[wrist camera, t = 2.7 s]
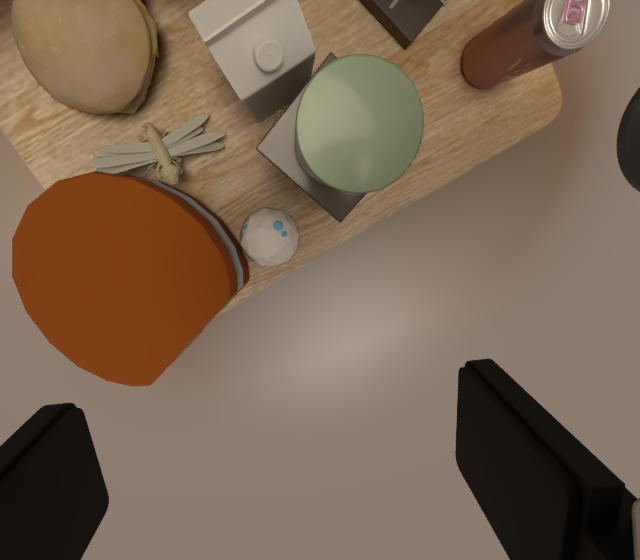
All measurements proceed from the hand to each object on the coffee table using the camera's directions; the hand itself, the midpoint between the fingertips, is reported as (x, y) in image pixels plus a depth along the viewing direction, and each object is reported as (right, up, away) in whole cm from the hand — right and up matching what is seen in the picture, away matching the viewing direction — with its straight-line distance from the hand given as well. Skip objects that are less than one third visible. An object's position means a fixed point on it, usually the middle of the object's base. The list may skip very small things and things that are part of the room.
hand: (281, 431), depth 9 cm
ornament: (-8, +9, +38) cm, 40 cm away
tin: (+2, +15, +20) cm, 25 cm away
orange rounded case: (-13, -2, +36) cm, 39 cm away
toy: (-17, +16, +34) cm, 42 cm away
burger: (-22, +29, +30) cm, 47 cm away
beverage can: (+20, +30, +35) cm, 50 cm away
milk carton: (-5, +27, +34) cm, 44 cm away
